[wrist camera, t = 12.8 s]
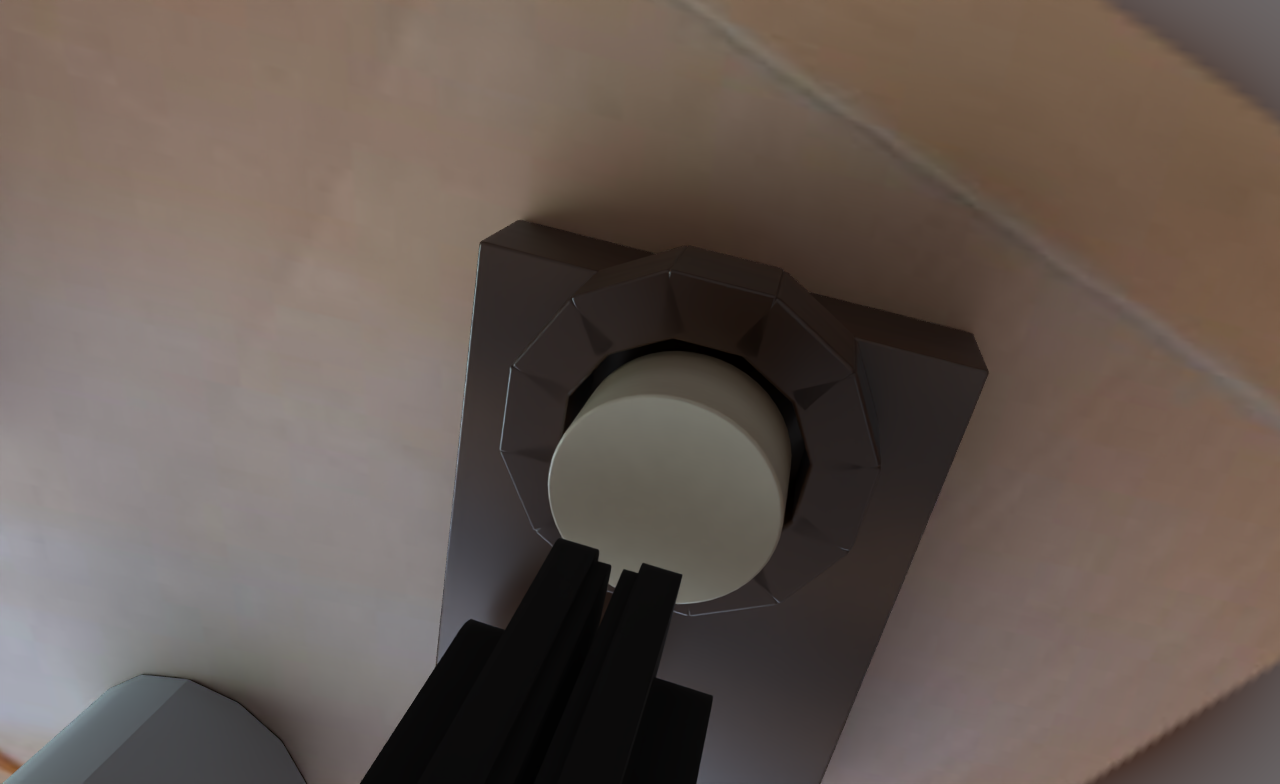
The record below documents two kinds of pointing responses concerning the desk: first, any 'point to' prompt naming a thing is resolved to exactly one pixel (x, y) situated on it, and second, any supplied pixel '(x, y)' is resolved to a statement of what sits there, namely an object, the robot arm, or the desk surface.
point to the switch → (675, 473)
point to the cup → (161, 741)
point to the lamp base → (818, 485)
